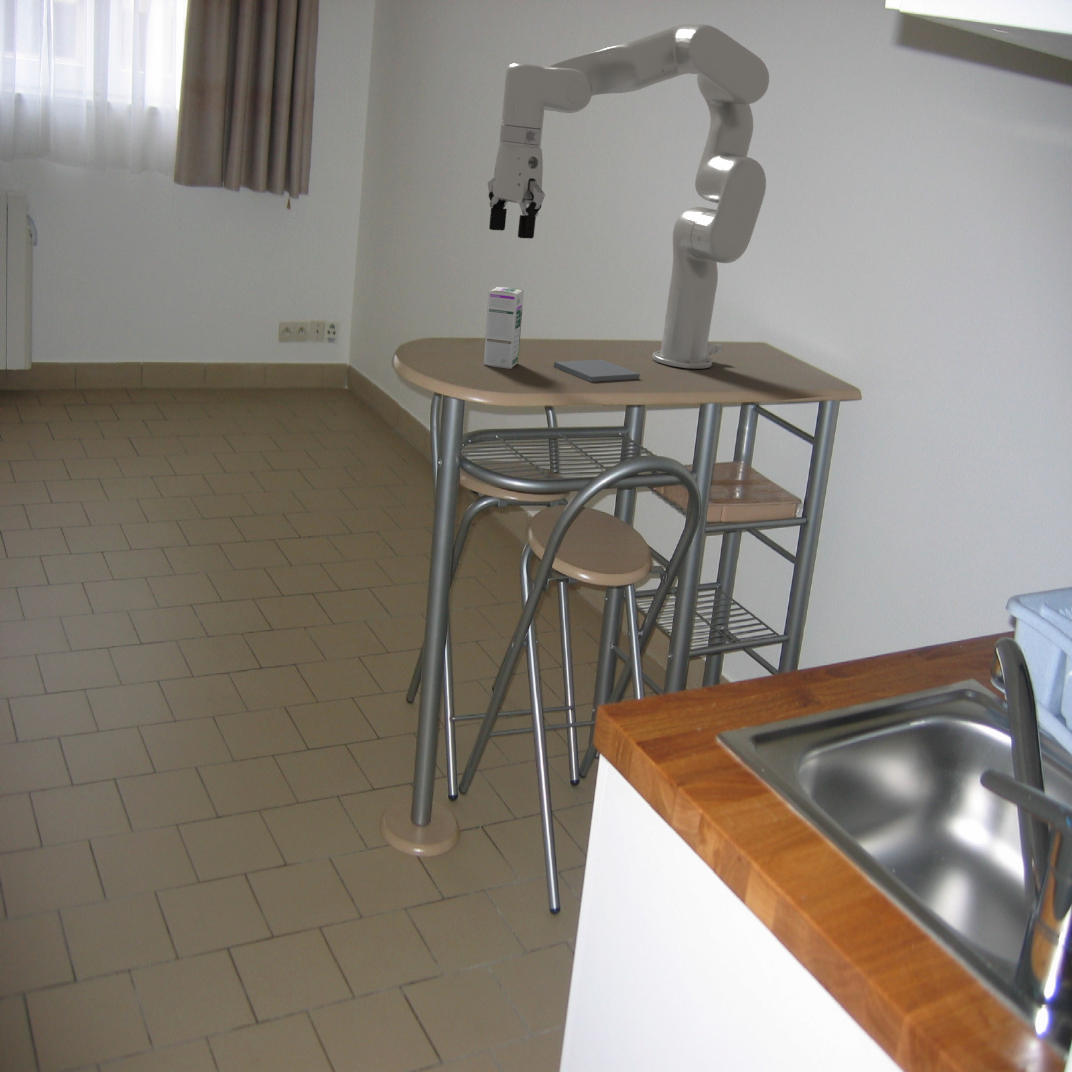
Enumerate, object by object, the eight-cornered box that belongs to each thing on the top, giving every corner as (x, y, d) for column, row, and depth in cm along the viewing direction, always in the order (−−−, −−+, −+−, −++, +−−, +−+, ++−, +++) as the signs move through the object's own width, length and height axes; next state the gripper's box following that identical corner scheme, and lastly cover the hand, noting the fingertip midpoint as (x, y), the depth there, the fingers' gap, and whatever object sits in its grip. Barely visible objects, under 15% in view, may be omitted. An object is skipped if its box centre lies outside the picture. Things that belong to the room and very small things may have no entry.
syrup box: (511, 369, 218) (518, 293, 212) (482, 365, 218) (488, 289, 213) (518, 363, 223) (525, 289, 218) (489, 359, 224) (495, 285, 219)
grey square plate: (601, 364, 230) (602, 359, 230) (639, 378, 221) (639, 373, 221) (553, 366, 223) (554, 361, 223) (590, 382, 214) (590, 376, 214)
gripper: (565, 143, 201) (553, 241, 207) (511, 135, 214) (502, 227, 220) (530, 140, 197) (520, 240, 203) (478, 131, 210) (469, 226, 216)
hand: (510, 233), depth 212 cm, fingers open, 9 cm apart
